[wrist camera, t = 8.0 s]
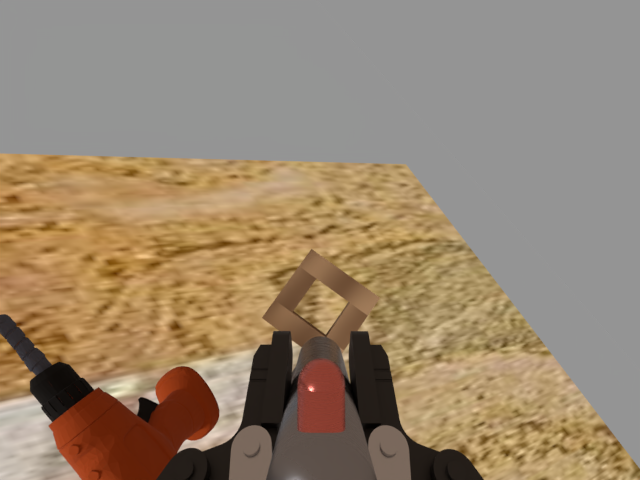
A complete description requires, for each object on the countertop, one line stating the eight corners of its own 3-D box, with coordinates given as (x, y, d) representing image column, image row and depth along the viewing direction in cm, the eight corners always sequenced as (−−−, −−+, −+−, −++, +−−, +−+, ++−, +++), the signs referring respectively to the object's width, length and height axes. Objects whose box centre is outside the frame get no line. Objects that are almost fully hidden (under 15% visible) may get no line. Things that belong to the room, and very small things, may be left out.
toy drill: (120, 276, 34) (-13, 301, 19) (231, 409, 35) (185, 532, 20) (82, 304, 34) (-83, 353, 19) (195, 438, 35) (121, 586, 20)
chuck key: (342, 397, 19) (382, 611, 7) (298, 397, 19) (260, 611, 7) (342, 310, 19) (377, 367, 7) (299, 310, 19) (264, 367, 7)
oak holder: (264, 315, 35) (261, 317, 34) (311, 249, 36) (311, 248, 35) (330, 364, 35) (331, 369, 33) (377, 296, 36) (380, 297, 34)
